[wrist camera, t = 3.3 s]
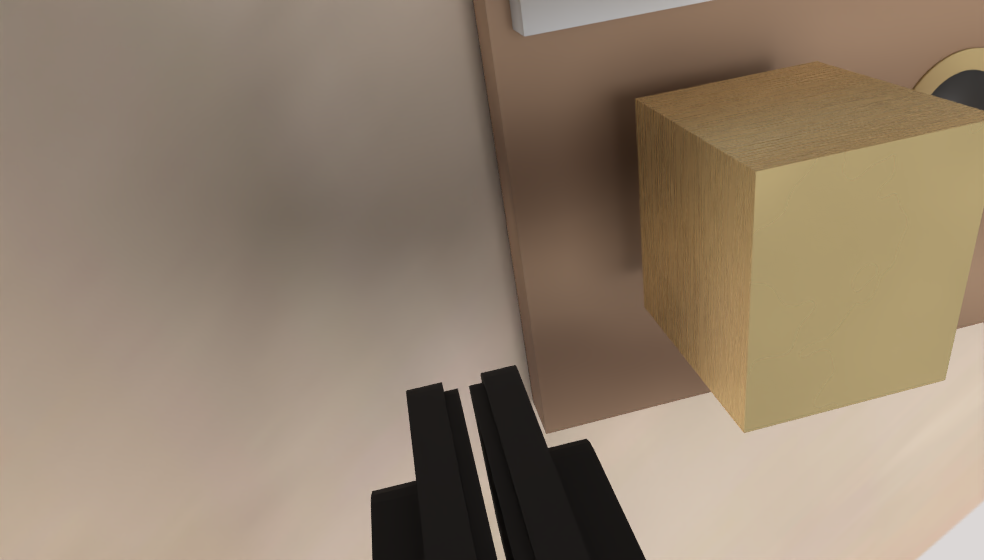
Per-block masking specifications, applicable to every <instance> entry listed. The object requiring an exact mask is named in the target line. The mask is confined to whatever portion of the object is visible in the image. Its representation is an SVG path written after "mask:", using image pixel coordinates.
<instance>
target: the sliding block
mask: <svg viewBox="0 0 984 560" xmlns="http://www.w3.org/2000/svg"><path fill="white" fill-rule="evenodd" d="M635 112H636V134H637V157H638V179H639V202H640V225H641V247H642V270H643V292H644V307H645V309H646V310H647V311H648V312H649V314H650V315H651V316H652V317H653V319H654V320H655V321H656V323H657V324H658V325H659V326H660V328H661V329H662V330H663V331H664V333H665V334H666V335H667V336H668V338H669V339H670V340H671V341H672V343H673V344H674V345H675V346H676V348H677V349H678V350H679V352H680V353H681V354H682V355H683V357H684V358H685V359H686V360H687V362H688V363H689V364H690V365H691V367H692V368H693V369H694V370H695V372H696V373H697V374H698V375H699V377H700V378H701V379H702V381H703V382H704V383H705V384H706V386H707V387H708V388H709V389H710V391H711V392H712V393H713V394H714V396H715V397H716V398H717V399H718V401H719V402H720V403H721V404H722V406H723V407H724V408H725V410H726V411H727V412H728V413H729V415H730V416H731V417H732V418H733V420H734V421H735V422H736V423H737V425H738V426H739V427H740V428H741V430H742V431H743V432H744V433H746V432H750V431H754V430H757V429H761V428H765V427H769V426H773V425H776V424H780V423H784V422H788V421H792V420H795V419H799V418H803V417H807V416H811V415H814V414H818V413H822V412H826V411H830V410H833V409H837V408H841V407H845V406H848V405H852V404H856V403H860V402H864V401H867V400H871V399H875V398H879V397H883V396H886V395H890V394H894V393H898V392H902V391H905V390H909V389H913V388H917V387H921V386H924V385H928V384H932V383H936V382H940V381H943V380H945V378H946V373H947V369H948V364H949V360H950V355H951V351H952V347H953V342H954V338H955V333H956V329H957V324H958V320H959V315H960V311H961V306H962V302H963V297H964V293H965V289H966V284H967V280H968V275H969V271H970V266H971V262H972V257H973V253H974V248H975V244H976V239H977V235H978V231H979V226H980V222H981V217H982V213H983V208H984V111H983V110H980V109H977V108H973V107H970V106H966V105H963V104H960V103H956V102H953V101H950V100H946V99H943V98H939V97H936V96H933V95H929V94H926V93H923V92H919V91H916V90H913V89H909V88H906V87H902V86H899V85H896V84H892V83H889V82H886V81H882V80H879V79H876V78H872V77H869V76H865V75H862V74H859V73H855V72H852V71H849V70H845V69H842V68H839V67H835V66H832V65H828V64H825V63H822V62H818V61H815V62H811V63H806V64H801V65H796V66H791V67H786V68H781V69H777V70H772V71H767V72H762V73H757V74H752V75H747V76H743V77H738V78H733V79H728V80H723V81H718V82H713V83H709V84H704V85H699V86H694V87H689V88H684V89H679V90H675V91H670V92H665V93H660V94H655V95H650V96H645V97H641V98H636V99H635Z"/></svg>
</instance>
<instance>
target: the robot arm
mask: <svg viewBox="0 0 984 560" xmlns="http://www.w3.org/2000/svg"><path fill="white" fill-rule="evenodd" d="M481 379H482V383H479V384H475V385H471V386H469V389H470V394H471V399H472V403H473V408H474V413H475V418H476V423H477V427H478V432H479V437H480V442H481V447H482V451H483V456H484V461H485V466H486V471H487V475H488V480H489V485H490V490H491V495H492V500H493V504H494V509H495V514H496V519H497V523H498V527H499V532H500V536H501V540H502V544H503V548H504V552H505V556H506V560H646V559H645V557H644V555H643V553H642V550H641V548H640V546H639V544H638V542H637V540H636V538H635V536H634V533H633V531H632V529H631V527H630V525H629V523H628V521H627V519H626V517H625V514H624V512H623V510H622V508H621V506H620V504H619V502H618V500H617V497H616V495H615V493H614V491H613V489H612V487H611V485H610V483H609V481H608V478H607V476H606V474H605V472H604V470H603V468H602V466H601V464H600V461H599V459H598V457H597V455H596V453H595V451H594V449H593V447H592V445H591V443H590V442H589V441H588V440H587V439H583V440H579V441H575V442H571V443H567V444H563V445H559V446H555V447H551V448H548V447H547V445H546V442H545V439H544V437H543V434H542V431H541V429H540V426H539V424H538V421H537V418H536V416H535V413H534V411H533V408H532V405H531V403H530V400H529V397H528V395H527V392H526V390H525V387H524V384H523V382H522V379H521V377H520V374H519V371H518V369H517V367H516V365H514V366H510V367H505V368H501V369H497V370H492V371H488V372H484V373H481ZM406 395H407V404H408V413H409V422H410V430H411V439H412V448H413V457H414V465H415V474H416V481H412V482H408V483H404V484H400V485H396V486H392V487H388V488H384V489H380V490H376V491H372V494H371V524H372V559H373V560H497V556H496V552H495V548H494V543H493V539H492V535H491V530H490V526H489V522H488V517H487V513H486V509H485V504H484V500H483V496H482V491H481V487H480V483H479V478H478V474H477V470H476V465H475V461H474V457H473V452H472V448H471V444H470V439H469V435H468V431H467V426H466V422H465V418H464V413H463V409H462V405H461V400H460V396H459V392H458V389H454V390H449V391H445V392H444V389H443V385H442V382H441V383H437V384H432V385H428V386H424V387H420V388H415V389H411V390H407V391H406Z"/></svg>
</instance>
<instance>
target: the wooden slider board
mask: <svg viewBox="0 0 984 560" xmlns="http://www.w3.org/2000/svg"><path fill="white" fill-rule="evenodd" d="M473 3H474V10H475V17H476V23H477V30H478V37H479V43H480V50H481V57H482V63H483V70H484V77H485V83H486V90H487V97H488V103H489V110H490V117H491V123H492V130H493V136H494V143H495V150H496V156H497V163H498V170H499V176H500V183H501V190H502V196H503V203H504V210H505V216H506V223H507V230H508V236H509V243H510V250H511V256H512V263H513V270H514V276H515V283H516V290H517V296H518V303H519V310H520V316H521V323H522V330H523V336H524V343H525V350H526V356H527V363H528V370H529V376H530V383H531V390H532V396H533V402H534V405H535V407H536V409H537V412H538V414H539V417H540V419H541V422H542V424H543V427H544V429H545V432H546V434H548V433H552V432H556V431H560V430H563V429H567V428H571V427H575V426H579V425H583V424H587V423H591V422H595V421H599V420H603V419H606V418H610V417H614V416H618V415H622V414H626V413H630V412H634V411H638V410H642V409H646V408H649V407H653V406H657V405H661V404H665V403H669V402H673V401H677V400H681V399H685V398H689V397H693V396H696V395H700V394H704V393H708V392H711V391H710V389H709V388H708V387H707V386H706V384H705V383H704V382H703V381H702V379H701V378H700V377H699V375H698V374H697V373H696V372H695V370H694V369H693V368H692V367H691V365H690V364H689V363H688V362H687V360H686V359H685V358H684V357H683V355H682V354H681V353H680V352H679V350H678V349H677V348H676V346H675V345H674V344H673V343H672V341H671V340H670V339H669V338H668V336H667V335H666V334H665V333H664V331H663V330H662V329H661V328H660V326H659V325H658V324H657V323H656V321H655V320H654V319H653V317H652V316H651V315H650V314H649V312H648V311H647V310H646V309H645V307H644V292H643V270H642V247H641V225H640V202H639V179H638V157H637V134H636V112H635V99H636V98H641V97H645V96H650V95H655V94H660V93H665V92H670V91H675V90H679V89H684V88H689V87H694V86H699V85H704V84H709V83H713V82H718V81H723V80H728V79H733V78H738V77H743V76H747V75H752V74H757V73H762V72H767V71H772V70H777V69H781V68H786V67H791V66H796V65H801V64H806V63H811V62H815V61H818V62H822V63H825V64H828V65H832V66H835V67H839V68H842V69H845V70H849V71H852V72H855V73H859V74H862V75H865V76H869V77H872V78H876V79H879V80H882V81H886V82H889V83H892V84H896V85H899V86H902V87H906V88H909V89H913V90H916V91H919V92H923V93H926V94H929V95H933V96H936V97H939V98H943V99H946V100H950V101H953V102H956V103H960V104H963V105H966V106H970V107H973V108H977V109H980V110H983V111H984V0H473ZM982 322H984V208H983V213H982V217H981V222H980V226H979V231H978V235H977V239H976V244H975V248H974V253H973V257H972V262H971V266H970V271H969V275H968V280H967V284H966V289H965V293H964V297H963V302H962V306H961V311H960V315H959V320H958V324H957V329H958V328H962V327H966V326H970V325H974V324H978V323H982Z"/></svg>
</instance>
